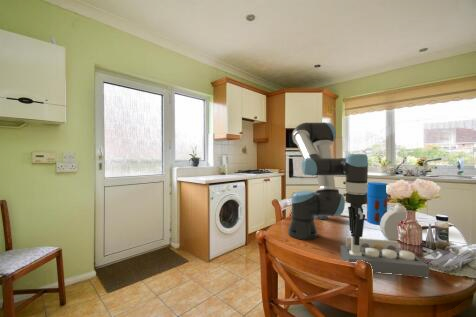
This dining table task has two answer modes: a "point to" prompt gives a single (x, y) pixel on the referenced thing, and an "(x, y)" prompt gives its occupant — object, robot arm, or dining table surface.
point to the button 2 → (371, 252)
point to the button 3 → (389, 254)
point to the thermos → (376, 202)
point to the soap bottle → (392, 222)
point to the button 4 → (406, 255)
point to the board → (388, 263)
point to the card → (375, 243)
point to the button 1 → (355, 253)
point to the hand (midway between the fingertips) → (355, 251)
